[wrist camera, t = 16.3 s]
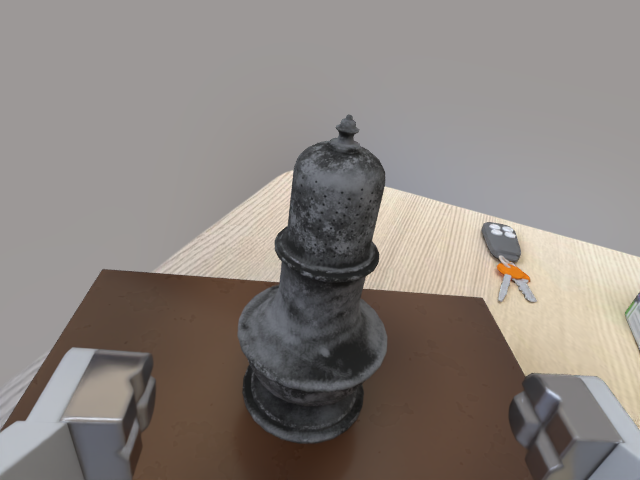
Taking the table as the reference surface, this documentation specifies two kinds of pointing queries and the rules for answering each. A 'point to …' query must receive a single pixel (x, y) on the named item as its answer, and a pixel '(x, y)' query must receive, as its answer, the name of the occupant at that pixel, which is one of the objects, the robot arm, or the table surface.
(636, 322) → the syrup box
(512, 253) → the key chain
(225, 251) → the table surface
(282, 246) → the salt shaker
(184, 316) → the shelf
